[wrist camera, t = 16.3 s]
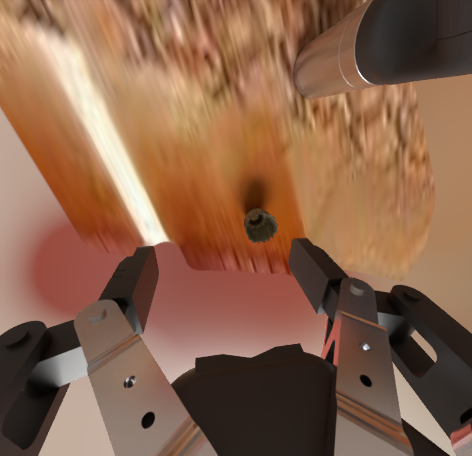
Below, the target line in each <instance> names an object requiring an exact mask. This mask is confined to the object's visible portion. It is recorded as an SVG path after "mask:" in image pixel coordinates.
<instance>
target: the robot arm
mask: <svg viewBox="0 0 472 456" xmlns="http://www.w3.org/2000/svg"><path fill="white" fill-rule="evenodd" d="M467 74H472V0H367V1H366V2H365V3H363V4H362V5H361V6H359V7H358V8H357V9H355V10H354V11H352V12H351V13H350V14H348V15H347V16H346V17H344V18H343V19H341V20H340V21H339V22H337V23H336V24H335V25H333V26H332V27H331V28H329V29H328V30H326V31H325V32H324V33H322V34H321V35H319V36H318V37H317V38H315V39H314V40H313V41H311V42H310V43H308V44H307V45H306V46H305V47H304V48H303V49H302V51H301V52H300V54H299V56H298V58H297V60H296V63H295V67H294V81H295V85H296V87H297V90H298V91H299V92H300V94H301V95H303V96H304V97H306V98H309V99H317V98H321V97H327V96H332V95H336V94H341V93H346V92H351V91H355V90H360V89H365V88H369V87H374V86H379V85H384V84H388V85H394V84H401V83H406V82H413V81H420V80H427V79H436V78H444V77H452V76H460V75H467ZM289 267H290V270H291V272H292V273H293V275H294V277H295V278H296V280H297V282H298V283H299V285H300V286H301V288H302V290H303V291H304V293H305V295H306V296H307V298H308V300H309V301H310V303H311V305H312V306H313V308H314V309H315V311H316V313H317V314H323V313H326V314H327V316H328V318H327V321H326V327H325V334H324V340H323V346H322V352H321V357H318V356H316V355H313V354H310V353H306V352H304V351H303V349H302V347H301V345H300V343H299V344H292V345H285V346H278V347H274V348H272V349H270V350H268V351H266V352H263V353H261V354H259V355H257V356H255V357H252V358H247V357H240V356H232V355H225V354H221V355H214V356H208V357H200V358H196V362H195V368H193V369H191V370H189V371H187V372H185V373H184V374H182V375H181V376H180V377H178V378H177V379H176V380H175V381H174V382H173V383H172V384H171V385H170V383H169V382H168V380H167V379H166V377H165V375H164V373H163V372H162V370H161V369H160V367H159V366H158V364H157V362H156V361H155V359H154V358H153V356H152V354H151V353H150V351H149V350H148V348H147V346H146V345H145V343H144V342H143V340H142V338H141V337H140V336H139V334H143V332H144V329H145V325H146V321H147V318H148V314H149V311H150V307H151V303H152V300H153V296H154V292H155V289H156V285H157V281H158V276H159V270H158V264H157V259H156V254H155V250H154V247H153V246H143V247H137V249H136V251H135V253H134V255H133V256H131V257H126V258H125V259H124V260H123V261H122V262H120V263H119V265H118V267H117V268H116V270H115V272H114V274H113V276H112V278H111V279H110V280H109V282H108V284H107V286H106V288H105V289H104V291H103V293H102V294H101V296H100V298H99V299H98V301H96V302H94V303H92V304H90V305H88V306H86V307H85V308H84V309H82V310H81V311H80V312H79V313H78V314H77V316H76V318H75V319H74V320H71V321H68V322H65V323H62V324H59V325H56V326H53V327H50V328H47V327H46V326H45V324H44V323H43V322H40V321H30V322H26V323H23V324H20V325H18V326H15V327H13V328H11V329H10V330H8V331H6V332H5V333H3V334H2V335H1V336H0V456H38V454H39V452H40V450H41V448H42V446H43V443H44V441H45V439H46V436H47V434H48V432H49V430H50V427H51V425H52V423H53V421H54V419H55V416H56V414H57V412H58V409H59V407H60V405H61V403H62V401H63V398H64V396H65V394H66V392H67V389H68V387H69V385H70V383H71V382H72V381H74V380H76V379H79V378H81V377H83V376H85V375H88V376H89V379H90V382H91V385H92V388H93V391H94V393H95V397H96V399H97V403H98V405H99V408H100V411H101V415H102V417H103V420H104V423H105V426H106V429H107V432H108V435H109V438H110V441H111V444H112V447H113V450H114V453H115V456H450V455H448V454H447V453H446V452H444V451H443V450H442V449H441V448H439V447H438V446H437V445H436V444H434V443H433V442H432V441H430V440H429V439H428V438H426V437H425V436H424V435H423V434H421V433H420V432H418V431H417V430H416V429H415V428H414V427H412V426H411V425H410V424H408V423H407V422H406V421H405V420H403V419H402V418H401V415H400V409H399V402H398V396H397V389H396V384H395V377H394V370H393V364H392V362H393V363H394V364H395V366H396V367H397V368H398V370H399V371H400V372H401V374H402V375H403V377H404V378H405V379H406V381H407V382H408V383H409V385H410V386H411V387H412V389H413V390H414V391H415V393H416V394H417V395H418V397H419V398H420V400H421V401H422V402H423V403H424V405H425V406H426V408H427V409H428V410H429V412H430V413H431V414H432V416H433V417H434V418H435V420H436V421H437V422H438V424H439V425H440V427H441V428H442V429H443V431H444V432H445V433H446V435H447V436H448V437H449V439H450V440H451V444H452V447H453V450H454V452H455V454H456V456H472V334H471V333H470V332H469V331H468V330H466V329H465V328H464V327H463V326H462V325H460V324H459V323H458V322H457V321H456V320H454V319H453V318H452V317H451V316H450V315H448V314H447V313H446V312H445V311H444V310H442V309H441V308H440V307H439V306H438V305H436V304H435V303H434V302H433V301H431V300H430V299H429V298H428V297H427V296H425V295H424V294H423V293H421V292H420V291H418V290H416V289H414V288H411V287H408V286H404V285H395V286H393V288H392V290H391V292H390V293H388V292H381V291H374V290H373V289H372V287H371V286H370V285H368V284H367V283H365V282H364V281H362V280H359V279H356V278H349V277H348V275H346V273H345V272H344V271H343V270H342V269H341V268H340V267H339V266H338V265H337V264H336V263H335V262H333V260H332V259H331V258H330V257H329V255H328V254H327V253H326V252H325V251H324V250H322V249H321V248H319V247H317V246H316V245H315V246H314V245H313V244H312V243H311V242H310V241H309V239H308V238H295V239H293V241H292V245H291V250H290V255H289ZM414 330H416V331H417V332H418V333H419V334H420V335H421V336H422V337H423V338H424V339H425V340H426V341H427V342H428V343H429V344H430V345H431V346H432V347H433V349H434V350H435V352H436V354H437V361H436V363H435V362H434V361H433V360H432V359H431V358H430V357H429V356H428V355H427V353H425V351H424V350H423V349H422V348H421V347H420V346H419V345H418V344H417V342H416V341H415V340H414V339H413V338H412V337H411V334H412V333H413V332H414Z"/></svg>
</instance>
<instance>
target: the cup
mask: <svg viewBox="0 0 472 456" xmlns="http://www.w3.org/2000/svg"><path fill="white" fill-rule="evenodd" d="M255 216H256V217H255ZM254 217H255V218H254ZM244 227H245V233H246V234H247V236H248V238H249V240H251V241H252V242H253V243H255V242H256V241H257V242H258V243H260V241H262V242H266V241H269V240H270V237H272V238H273V234H274V233H277V227H278V224H277V223H276V221H275V218H274V217H273V216H271V215H270V214H269V213H268V212H266V211H265V210H263V209H259V208H257V209H252V210H251V211H249V212H248V213H247V214H246V216H245V219H244Z"/></svg>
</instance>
